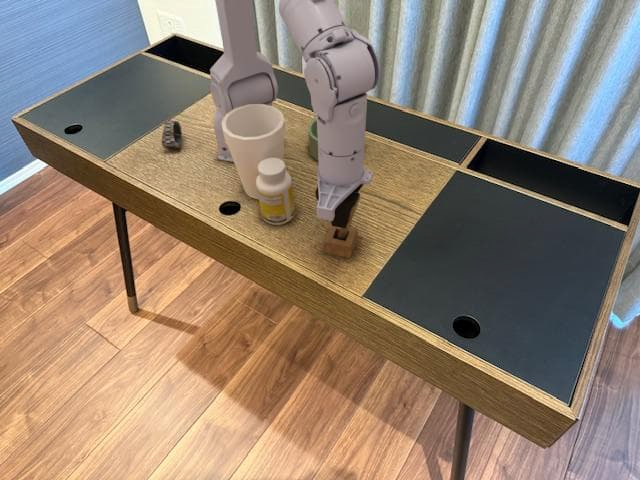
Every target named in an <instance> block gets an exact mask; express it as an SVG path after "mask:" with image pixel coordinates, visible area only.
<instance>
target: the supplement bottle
mask: <svg viewBox="0 0 640 480" xmlns="http://www.w3.org/2000/svg"><path fill="white" fill-rule="evenodd" d="M285 163H286V162H285V161H284V160H283V161H282V160H281V159H278V158H267V159H265V160H263V161H261V162H260V163H259V165H258V172H259V175H258V177H257V179H256V188H257V193H258V199H257V200H258V203H259V208H260V209H259V210H260V214H261V217H262V219H263V220H264V222H265V223H267V224H269V225H273V226H281V225H284V224H287V223H289V222H290V221H291V220H293V219H294V216H295V215H296V207H295V206H296V205H295V198H294V187H293V181H292V180H293V179H292V177H291V175H290V173H289V172H287V168H286V164H285Z"/></svg>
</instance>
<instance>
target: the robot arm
mask: <svg viewBox="0 0 640 480" xmlns="http://www.w3.org/2000/svg"><path fill="white" fill-rule="evenodd" d="M214 1H215V7H216V12H217V18H218V25H219V30H220V35H221V41H222V47H223V54H222V55H221V56H220V57H219V59H217V61H216V62H215V63H214V64H213V65H212V66H211V67H210V68H209V72H210V74H209V76H210V87H209V88H210V94H211V98H212V101H213V103H214V106H215V107H216V110H215V111H214V116H213V131H214V135H215V139H216V143H217V148H218V152H219V154H218V156H217V159H218V160H219V161H223V162H230V163H234V161H233V158H232V155H231V153H230V150H229V147H228V145H227V144H226V143H225V138H224V133H223V129H222V123H221V122H222V120H223V119H224V117H225V115H226V114H227V113H229V112H230V111H232V110H233V109H235V108H238V107H241V106H245V105H248V104H265V105H269V106H273V102H275V101H276V100H277V98H278V95H279V86H278V85H279V84H278V81H277V78H276V76H275V72H274V66H273V64H272V62H271V61H270V59H268V57H267V56H266V55H264V54H263V53H262V52H259V51H257V45H256V44H257V43H256V35H255V27H254V18H253V10H252V8H253V7H252V1H251V0H214ZM278 14H279V16H280V17H281V19H282V21H283V22H284V25H285V26H286V28H287V30H288V31H289V34H290V36H291V37H292V40H293V41H294V43H295V45H296V47H297V49H298V50H299V52H300V54H301V56H302V58H303V61H304V62H305V63H306V64H305V68H303V74H304V80H305V83H306V86H307V89H308V91H309V94H310V102H311V105H310V106H311V107H312V111H313V113H315V114H316V118H317V134H318V161H317V162H318V167H317V171H316V172H317V173H316V174H317V186H316V188H315V191H314V192H315V199H316V200H317V201H318V202H317V205H316V219H319V220H324V221H328V222H330V225H331V224H332V226H335V227H340V228H346V226H347V224H348V221H349V217H350V213H351V209H352V208H353V207H354V206H355V204H356V202H357V200H358V198H359V195H360V196H361V193H360V190H361V189H362V188H363V187H364V185H370V184H371V182H372V179H373V174H374V172H373V171H372V170H369V169H366V167H365V149H366V147H365V146H366V131H367V130H366V128H367V109H368V108H367V107H368V93H369V92H370V91H371V90H374V89H375V88H377V86H378V84H379V82H380V77H381V66H380V61H379V57H378V55H377V51H376V50H375V48H374V46H373V43H372V42H371V41H370V40H369V39H368V38H367V37H365V36H363V35H361V34H360V33H359V32H358V31H357V29H355V28H349V26H348V24H347V22H346V21H345V19H344V17H343V14H342V13H341V11H340V9H339V8H338V6H337V4H336V2H335V0H279V2H278ZM356 192H358V193H356Z"/></svg>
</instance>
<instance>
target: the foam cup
mask: <svg viewBox="0 0 640 480" xmlns="http://www.w3.org/2000/svg"><path fill="white" fill-rule="evenodd" d="M221 123H222V129H223V133H224V138H225V143H226V144H227V145H228V147H229V150H230V153H231V155H232V158H233V161H234V162H233V164H234V166H235V168H236V169H235V170H236V172H237V174H238V176H239V179H240V182H241V185H242V187H243V190H244V192H245V194H246V195H247V196H248V197H250V198H252V199H255V200H259V199H258V193H257V188H256V179H257V177H258V175H259V172H258V165H259V163H260V162H261V161H263V160H265V159H267V158H278V159H281V160H282V161H283V162H284V155H285V154H284V153H285V151H284V150H285V136H286V134H287V131H286V122H285V117H284V115H283V112H282V111H281V110H279V109H278V108H276V107H275V106H273V105H272V106H269V105H265V104H248V105H245V106H241V107H238V108H235V109H233V110H232V111H230V112H229V113H227V114H226V115H225V117H224V119H223V120H222V122H221Z"/></svg>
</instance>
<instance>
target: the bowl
mask: <svg viewBox="0 0 640 480" xmlns="http://www.w3.org/2000/svg"><path fill="white" fill-rule="evenodd" d="M307 133H308V149H309V154H310V156H311V157H312V158H313V159H314V160H315V161H316V162H319V161H318V134H317V117H315V118H314V119H313V120H312V121H311V122H310V123H309V125H308V131H307Z"/></svg>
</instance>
